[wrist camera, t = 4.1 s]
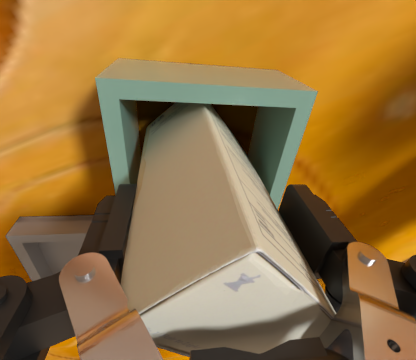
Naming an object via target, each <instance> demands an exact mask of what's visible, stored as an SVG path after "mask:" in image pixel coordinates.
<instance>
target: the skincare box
mask: <svg viewBox="0 0 416 360" xmlns="http://www.w3.org/2000/svg"><path fill="white" fill-rule="evenodd" d="M120 285H121V287H122V289H123V291H124V293H125V295H126V297H127V299H128V303H127V307H128V309H129V310H132V309H134V308H135V309H136V310H137V312H138V313H139V315H140V317H141V319H142V320H143V322H144V324H145V326H146V328H147V330H148V332H149V334H150V336H151V337H152V339H153V341H154V343H155V345H156V347H158V348H161V349H166V350H169V351H171V352H175V353H178V354H180V355H184V356H188V357H190V351H191V350H200V349H210V348H219V347H227V348H232V349H237V350H242V351H247V352H252V353H258V354H260V353H264V352H266V351H268V350H270V349H272V348H274V347H276V346H278V345H280V344H282V343H285V342H287V341H289V340H294V339H304V338H313V337H319V336H320V335H321V334H322V333H323V331H324V330H325V329H326V327H327V326H328V325H329V323H330V321H331V319H332V318H334V316H335V315H336V312H335V310H334V309H333V307H332V305H331V303H330V302H329V300H328V298H327V296H326V295H325V293H324V291H323V289H322V287H321V286H320V284H319V282H318V280H317V279H316V277H315V275H314V273H313V271H312V270H311V268H310V266H309V264H308V263H307V261H306V259H305V257H304V255H303V254H302V252H301V250H300V248H299V247H298V245H297V243H296V241H295V240H294V238H293V236H292V234H291V232H290V231H289V229H288V227H287V225H286V224H285V222H284V220H283V218H282V217H281V215H280V213H279V211H278V210H277V208H276V206H275V204H274V202H273V201H272V199H271V197H270V195H269V193H268V192H267V190H266V188H265V186H264V184H263V183H262V181H261V179H260V177H259V176H258V174H257V172H256V170H255V168H254V167H253V165H252V163H251V161H250V160H249V158H248V156H247V154H246V152H245V151H244V149H243V148H242V147H241V145H240V144H239V142H238V141H237V139H236V138H235V136H234V135H233V134H232V132H231V131H230V129H229V128H228V127H227V125H226V124H225V123H224V121H223V120H222V118H221V117H220V116H219V114H218V113H217V112H216V110H215V109H214V108H213V106H212V105H211V104H205V103H184V102H176V103H174V104H173V105H172V106H171V107H169V108H168V109H167V110H166V111H165V112H163V113H162V114H161V115H160V116H159V117H158V118H156V119H155V120H154V121H153V122H152V123H151V124H150V125H148V127H147V128H146V134H145V140H144V145H143V151H142V157H141V163H140V169H139V174H138V180H137V188H136V193H135V198H134V204H133V210H132V217H131V222H130V228H129V234H128V240H127V246H126V251H125V259H124V264H123V270H122V277H121V283H120Z"/></svg>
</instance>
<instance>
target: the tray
mask: <svg viewBox="0 0 416 360" xmlns="http://www.w3.org/2000/svg"><path fill="white" fill-rule="evenodd" d="M93 216H94V215H78V216H36V217H19V219H18V220H17V221H16V223H15V224H14V225H13V227H12V228H11V229H10V231H9V232H8V233H7V235H6V238H7V240H8V241H9V243H10V245H11V246H12V248H13V250H14V251H15V253H16V255H17V256H18V258H19V260H20V262H21V263H22V265H23V267H24V268H25V270H26V272H27V273H28V275H29V277H30V278H31V280H32V281H35V280H38V279H41V278H44V277H48V276H51V275H54V274H56V273H58V272H60V271H61V270H62V269H63V267H64V266H65V265H66V264H67V263H68V262H69V261H70V260H72V259H73V258H75V257H77V256H78V254H79V252H80V249H81V247H82V244H83V242H84V239H85V236H86V234H87V231H88V229H89V226H90V224H91V223H92V218H93Z"/></svg>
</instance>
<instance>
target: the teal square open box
mask: <svg viewBox="0 0 416 360" xmlns="http://www.w3.org/2000/svg"><path fill="white" fill-rule="evenodd" d="M95 80H96V86H97V91H98V97H99V103H100V108H101V114H102V120H103V126H104V131H105V137H106V143H107V148H108V154H109V160H110V166H111V171H112V177H113V183H114V189H115V194H116V193H117V190H118V186H119V184H137V180H138V174H139V169H140V163H141V149H140V137H139V125H138V114H137V102H136V100H143V101H163V102H184V103H205V104H225V105H246V106H258V108H257V113H256V118H255V123H254V127H253V132H252V137H251V142H250V147H249V151H248V158H249V160H250V161H251V163H252V165H253V167H254V168H255V170H256V172H257V174H258V176H259V177H260V179H261V181H262V183H263V184H264V186H265V188H266V190H267V192H268V193H269V195H270V197H271V199H272V201H273V202H274V204H275V206H276V208H277V210H278V207H279V204H280V201H281V198H282V195H283V192H284V189H285V186H286V183H287V180H288V177H289V174H290V172H291V169H292V166H293V163H294V160H295V157H296V154H297V151H298V148H299V145H300V142H301V139H302V136H303V133H304V131H305V128H306V125H307V122H308V119H309V116H310V113H311V110H312V107H313V104H314V101H315V98H316V95H317V92H318V91H316V90H314V89H312V88H310V87H309V86H307V85H305V84H303V83H301V82H299V81H297V80H295V79H293V78H292V77H290V76H288V75H286V74H284V73H282V72H280V71H278V70H269V69H255V68H242V67H228V66H215V65H202V64H188V63H175V62H161V61H148V60H134V59H121V58H118V59H117V60H116V61H114V62H113V63H112V64H111V65H110V66H108V67H107V68H106V69H105V70H104V71H103V72H101V73H100V74H99V75H98V76H97V77H95Z"/></svg>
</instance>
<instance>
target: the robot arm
mask: <svg viewBox="0 0 416 360" xmlns="http://www.w3.org/2000/svg"><path fill="white" fill-rule="evenodd" d="M136 188H137V184H119V186H118V190H117V193H116V196H106V197H105V198H104V199H103V200H102V201H101V202H100V203H99V204H98V206H97V208H96V211H95V215H94V216H93V218H92V223H91V224H90V226H89V229H88V231H87V234H86V236H85V239H84V242H83V244H82V247H81V249H80V252H79V254H78V256H77V257H75V258H73V259H72V260H70V261H69V262H68V263H67V264H66V265H65V266H64V267H63V269H62V270H61V271H60V272H58V273H56V274H54V275H51V276H48V277H44V278H41V279H38V280H35V281H32V282H28V283H26V282H25V281H24V280H23V279H22V278H21V277H18V276H3V277H0V360H45V358H46V355H47V353H48V350H49V348H50V346H53V345H55V344H57V343H60V342H62V341H65V340H67V339H69V338H72V337H74V336H76V339H77V343H78V344H77V348H78V352H79V356H80V360H163V358H162V356H161V355H160V353H159V351H158V349H157V347H156V345H155V343H154V341H153V339H152V337H151V336H150V334H149V332H148V330H147V328H146V326H145V324H144V322H143V320H142V319H141V317H140V315H139V313H138V312H137V310H136V309H135V308H134V309H132V310H129V309H128V307H127V303H128V299H127V297H126V295H125V293H124V291H123V289H122V287H121V285H120V283H121V277H122V270H123V264H124V259H125V251H126V246H127V240H128V234H129V228H130V222H131V217H132V210H133V204H134V198H135V193H136ZM279 213H280V215H281V217H282V218H283V220H284V222H285V224H286V225H287V227H288V229H289V231H290V232H291V234H292V236H293V238H294V240H295V241H296V243H297V245H298V247H299V248H300V250H301V252H302V254H303V255H304V257H305V259H306V261H307V263H308V264H309V266H310V268H311V270H312V271H313V273H314V275H315V277H316V279H321V278H322V280H323V282H324V283H323V285H322V289H323V291H324V293H325V295H326V296H327V298H328V300H329V302H330V303H331V305H332V307H333V309H334V310H335V312H336V315H335V316H334V318H332V319H331V321H330V323H329V325H328V326H327V327H326V329H325V330H324V331H323V333H322V334H321V335H320V336H319V337H313V338H304V339H294V340H289V341H287V342H285V343H282V344H280V345H278V346H276V347H274V348H272V349H270V350H268V351H266V352H264V353H260V354H258V353H252V352H247V351H242V350H237V349H232V348H227V347H219V348H210V349H200V350H191V351H190V359H189V360H416V255H414V256H412V257H411V258H410V259H409V260H408V261H407V262H406V263H402V262H398V261H393V260H389V259H386V258H385V257H384V255H383V254H382V253H381V252H379V251H378V250H377V249H375V248H374V247H372V246H370V245H368V244H366V243H362V242H357V241H356V239H355V238H354V237H353V236H352V235H351V233H350V232H349V231H348V230H347V228H346V227H345V226H344V225H343V223H342V222H341V221H340V220H339V218H337V216H336V215H335V213H334V212H333V211H331V209H330V207H329V206H328V205H327V204H326V202H325V201H323V200H322V199H321V198H319V197H318V196H316V195H313V193H312V192H311V191H310V189H309V188H308V187H307V186H306V185H288V186H287V188H286V191H285V194H284V197H283V199H282V202H281V205H280V208H279Z"/></svg>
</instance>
